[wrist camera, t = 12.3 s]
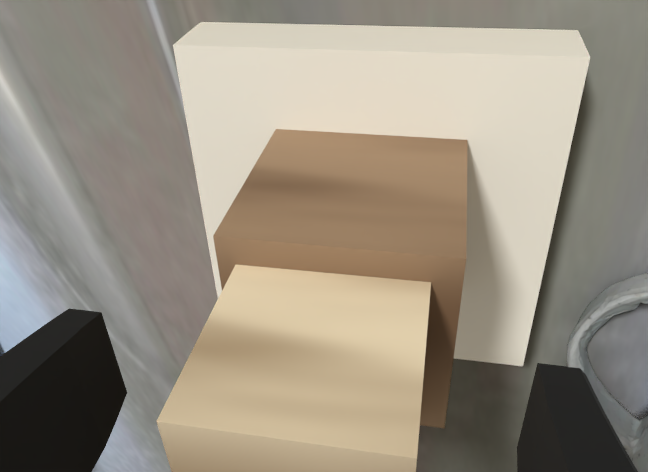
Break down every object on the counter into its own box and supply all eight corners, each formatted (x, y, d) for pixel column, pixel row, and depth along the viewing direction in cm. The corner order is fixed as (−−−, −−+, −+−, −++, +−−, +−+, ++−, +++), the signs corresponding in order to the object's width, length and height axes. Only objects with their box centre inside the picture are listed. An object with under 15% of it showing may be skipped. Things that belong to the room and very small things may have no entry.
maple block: (420, 415, 14) (406, 592, 11) (255, 393, 15) (197, 555, 12) (431, 282, 12) (416, 458, 9) (235, 264, 13) (156, 421, 10)
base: (519, 323, 21) (523, 366, 20) (241, 294, 23) (223, 331, 21) (578, 30, 15) (590, 57, 14) (200, 21, 17) (172, 44, 16)
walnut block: (450, 291, 18) (444, 428, 14) (288, 275, 19) (240, 400, 15) (467, 139, 16) (466, 258, 12) (275, 129, 16) (212, 236, 12)
